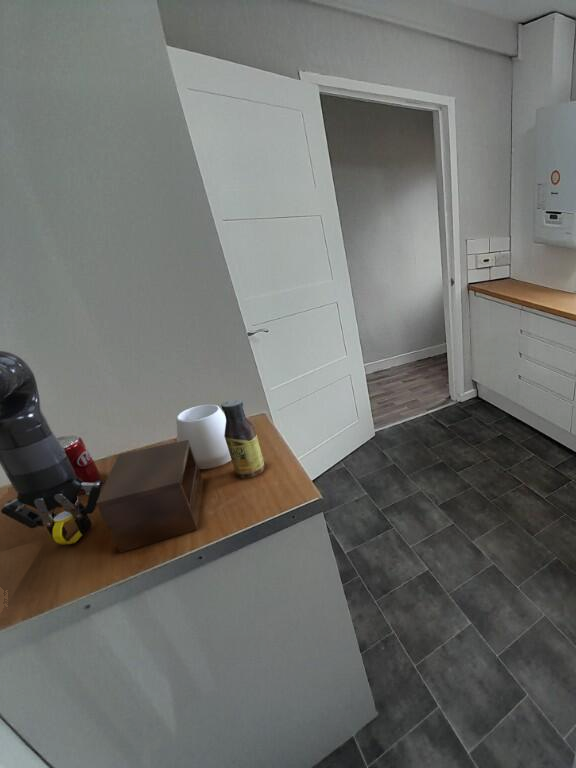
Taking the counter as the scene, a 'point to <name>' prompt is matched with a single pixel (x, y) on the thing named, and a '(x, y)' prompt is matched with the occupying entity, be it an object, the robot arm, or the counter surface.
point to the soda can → (80, 459)
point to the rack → (152, 495)
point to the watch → (58, 526)
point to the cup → (204, 435)
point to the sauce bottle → (242, 440)
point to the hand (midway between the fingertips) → (74, 533)
